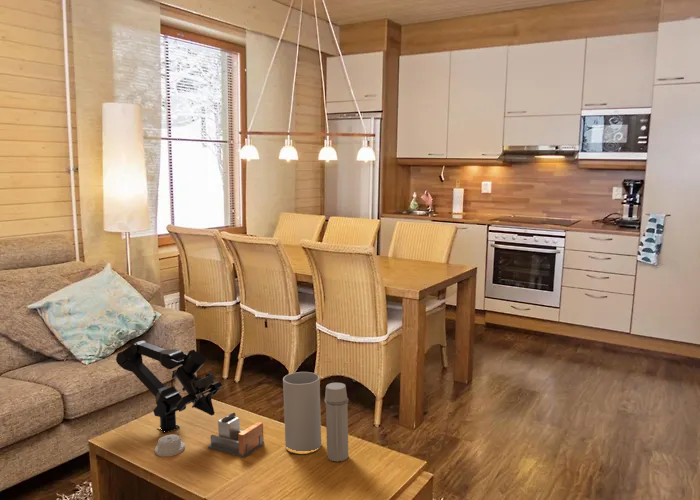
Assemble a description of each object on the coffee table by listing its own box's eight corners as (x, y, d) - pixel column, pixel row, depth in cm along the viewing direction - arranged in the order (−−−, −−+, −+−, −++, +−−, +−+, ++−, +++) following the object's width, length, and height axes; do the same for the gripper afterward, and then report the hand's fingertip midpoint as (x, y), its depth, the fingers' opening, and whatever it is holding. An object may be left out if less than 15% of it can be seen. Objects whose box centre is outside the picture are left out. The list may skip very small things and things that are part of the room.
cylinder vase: (328, 443, 198) (326, 375, 195) (307, 458, 187) (305, 386, 184) (299, 436, 204) (297, 369, 201) (278, 450, 194) (275, 380, 191)
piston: (218, 443, 197) (217, 417, 196) (229, 436, 203) (228, 411, 201) (229, 445, 195) (228, 420, 194) (240, 438, 200) (239, 413, 199)
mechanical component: (149, 456, 192) (175, 458, 190) (148, 443, 192) (175, 446, 190) (164, 442, 202) (189, 444, 200) (163, 431, 201) (189, 433, 199)
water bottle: (326, 452, 191) (324, 382, 188) (349, 452, 191) (348, 381, 188) (325, 466, 182) (323, 392, 179) (349, 465, 182) (348, 391, 179)
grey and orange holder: (208, 448, 196) (207, 426, 196) (229, 435, 206) (228, 414, 205) (244, 457, 189) (243, 435, 188) (264, 444, 198) (263, 422, 198)
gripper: (180, 375, 193) (206, 411, 190) (217, 360, 210) (242, 393, 206) (165, 393, 198) (190, 429, 194) (202, 377, 214) (226, 410, 211)
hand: (213, 414), depth 201 cm, fingers closed
